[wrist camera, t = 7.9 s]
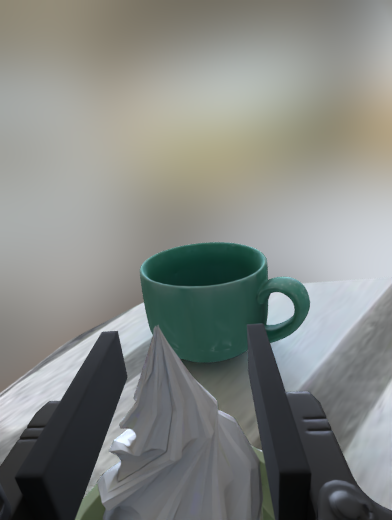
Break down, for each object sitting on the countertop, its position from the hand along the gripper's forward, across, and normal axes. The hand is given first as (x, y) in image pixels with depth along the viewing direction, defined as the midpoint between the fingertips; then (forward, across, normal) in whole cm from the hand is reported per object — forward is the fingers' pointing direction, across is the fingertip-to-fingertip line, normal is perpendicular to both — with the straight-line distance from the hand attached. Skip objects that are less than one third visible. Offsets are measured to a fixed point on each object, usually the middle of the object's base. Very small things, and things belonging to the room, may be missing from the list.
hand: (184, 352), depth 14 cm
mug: (+14, +2, -11) cm, 18 cm away
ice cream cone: (-5, 0, -10) cm, 11 cm away
